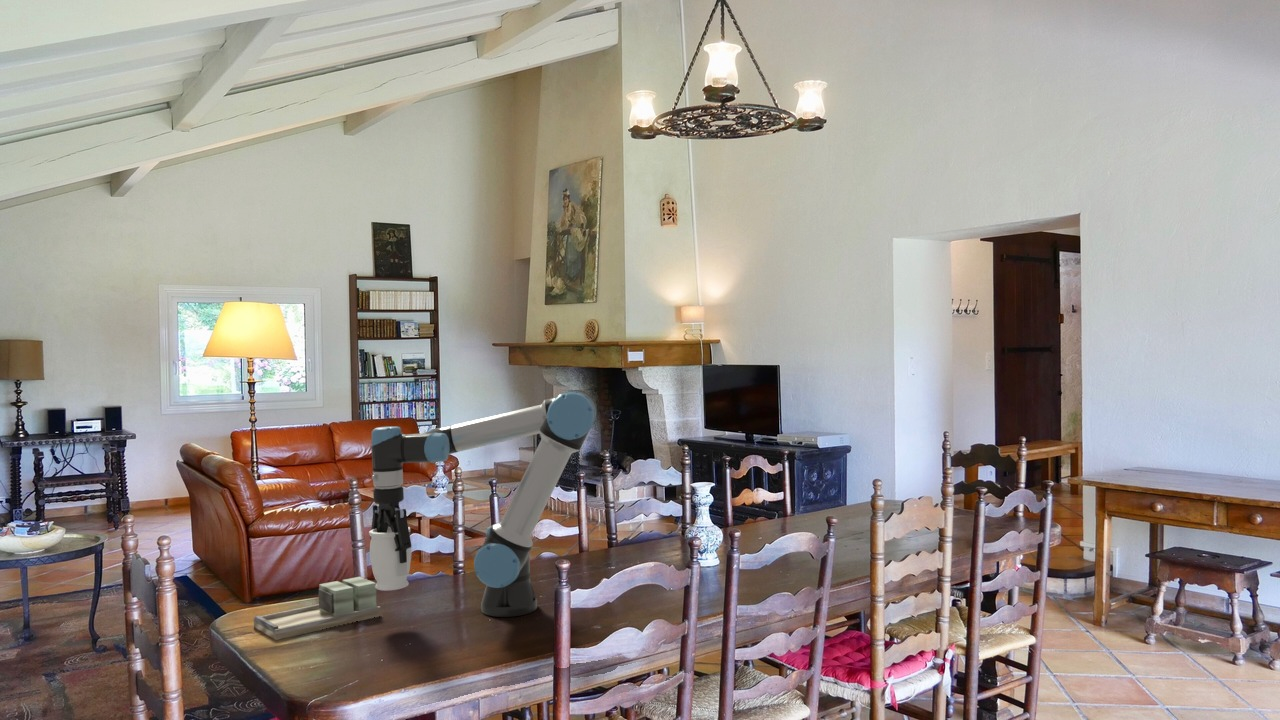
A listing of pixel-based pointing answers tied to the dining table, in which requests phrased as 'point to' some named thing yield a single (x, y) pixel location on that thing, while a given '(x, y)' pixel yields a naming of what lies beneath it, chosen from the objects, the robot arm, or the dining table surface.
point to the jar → (386, 561)
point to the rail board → (324, 610)
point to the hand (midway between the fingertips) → (391, 571)
